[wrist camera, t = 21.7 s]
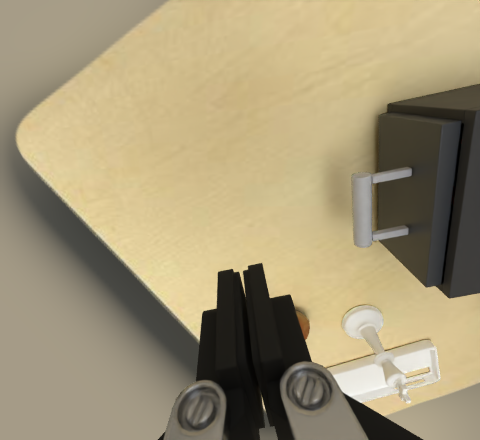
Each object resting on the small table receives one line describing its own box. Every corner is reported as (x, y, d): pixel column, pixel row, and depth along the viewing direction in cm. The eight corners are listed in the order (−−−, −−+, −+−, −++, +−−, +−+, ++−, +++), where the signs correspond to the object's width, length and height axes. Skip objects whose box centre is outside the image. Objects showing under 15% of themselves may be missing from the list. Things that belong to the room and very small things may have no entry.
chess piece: (342, 337, 36) (380, 421, 27) (341, 308, 34) (382, 388, 25) (380, 331, 36) (432, 413, 27) (382, 301, 34) (438, 379, 24)
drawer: (336, 247, 29) (370, 298, 22) (328, 125, 24) (369, 139, 17) (512, 214, 28) (606, 255, 21) (542, 79, 23) (681, 74, 16)
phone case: (429, 337, 36) (318, 369, 38) (436, 346, 35) (321, 379, 37) (434, 372, 39) (331, 401, 41) (441, 381, 38) (334, 410, 40)
